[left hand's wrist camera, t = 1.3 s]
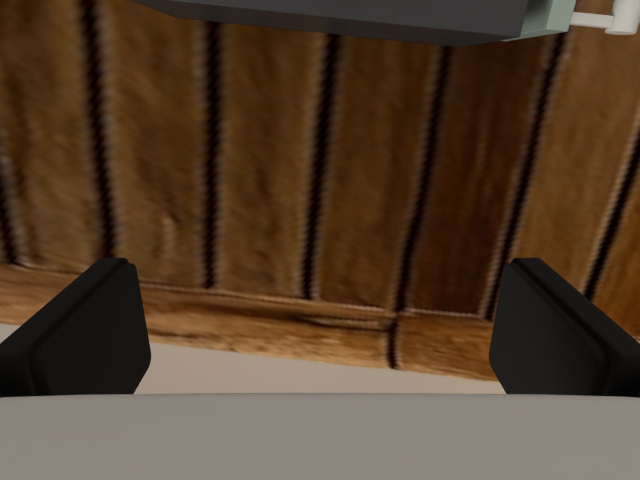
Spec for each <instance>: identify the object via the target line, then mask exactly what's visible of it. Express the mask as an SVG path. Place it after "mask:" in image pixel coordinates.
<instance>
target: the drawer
mask: <svg viewBox="0 0 640 480" xmlns="http://www.w3.org/2000/svg"><path fill="white" fill-rule="evenodd" d="M575 3H576V0H529V1H528V5H527V10H526V14H525V18H524V22H523V26H522V30H521V35H520V37H518V38H512V39H506V40H500V41H510V40H516V39H523V38H529V37H535V36H542V35H548V34H554V33H561V32H567V31H568V29H569V25H579V26H588V27H597V28H606V29H605V33H608V34H617V35H631V34H635V33H636V31H637V28H638V25H639V22H640V0H614V3H613V6H612V10H611V13H610V16H608V15H599V14H590V13H581V12H573V10H574V7H575Z"/></svg>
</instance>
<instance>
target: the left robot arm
mask: <svg viewBox="0 0 640 480" xmlns="http://www.w3.org/2000/svg"><path fill="white" fill-rule="evenodd" d="M150 361H151V350H150V344H149V339H148V333H147V327H146V321H145V316H144V310H143V304H142V298H141V293H140V287H139V281H138V275H137V270H136V267H135V265H134V264H129V262H128V260H127V259H126V258H101V259H99V260H98V261H97V262H95V263H94V264H93V265H92V266H91V267H89V268H88V269H87V270H86V271H85V272H84V273H82V274H81V275H80V276H79V277H78V278H77V279H75V280H74V281H73V282H72V283H71V284H70V285H68V286H67V287H66V288H65V289H64V290H63V291H61V292H60V293H59V294H58V295H57V296H56V297H54V298H53V299H52V300H51V301H50V302H49V303H47V304H46V305H45V306H44V307H43V308H42V309H40V310H39V311H38V312H37V313H36V314H34V315H33V316H32V317H31V318H30V319H29V320H27V321H26V322H25V323H24V324H23V325H22V326H20V327H19V328H18V329H17V330H16V331H15V332H13V333H12V334H11V335H10V336H9V337H8V338H6V339H5V340H4V341H3V342H2V343H1V344H0V480H640V344H639V343H638V342H637V341H636V340H635V339H634V338H632V337H631V336H630V335H629V334H628V333H627V332H625V331H624V330H623V329H622V328H621V327H620V326H618V325H617V324H616V323H615V322H614V321H613V320H611V319H610V318H609V317H608V316H607V315H606V314H604V313H603V312H602V311H601V310H600V309H598V308H597V307H596V306H595V305H594V304H593V303H591V302H590V301H589V300H588V299H587V298H586V297H584V296H583V295H582V294H581V293H580V292H579V291H577V290H576V289H575V288H574V287H573V286H572V285H570V284H569V283H568V282H567V281H566V280H565V279H563V278H562V277H561V276H560V275H559V274H558V273H556V272H555V271H554V270H553V269H552V268H551V267H549V266H548V265H547V264H546V263H545V262H543V261H542V260H541V259H539V258H514V259H513V260H512V262H511V264H506V265H505V267H504V270H503V275H502V281H501V287H500V293H499V298H498V304H497V310H496V316H495V321H494V327H493V333H492V339H491V344H490V350H489V361H490V365H491V367H492V369H493V371H494V373H495V375H496V376H497V378H498V380H499V382H500V383H501V385H502V387H503V388H504V390H505V392H506V394H424V393H423V394H422V393H206V394H134V392H135V390H136V388H137V387H138V385H139V383H140V382H141V380H142V378H143V376H144V375H145V373H146V371H147V369H148V368H149V365H150Z"/></svg>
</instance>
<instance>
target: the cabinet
mask: <svg viewBox="0 0 640 480" xmlns="http://www.w3.org/2000/svg"><path fill="white" fill-rule="evenodd" d="M130 1H133V2H136V3H138V4H141V5H144V6H147V7H149V8H152V9H155V10H157V11H160V12H163V13H165V14H168V15H171V16H174V17H176V18H185V19H195V20H205V21H214V22H224V23H234V24H243V25H253V26H262V27H272V28H282V29H291V30H301V31H311V32H320V33H330V34H340V35H349V36H359V37H369V38H378V39H388V40H397V41H407V42H417V43H426V44H436V45H446V46H455V47H464V46H470V45H476V44H482V43H488V42H494V41H500V40H506V39H512V38H518V37H520V35H521V30H522V26H523V22H524V18H525V14H526V10H527V5H528V1H529V0H130Z"/></svg>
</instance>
